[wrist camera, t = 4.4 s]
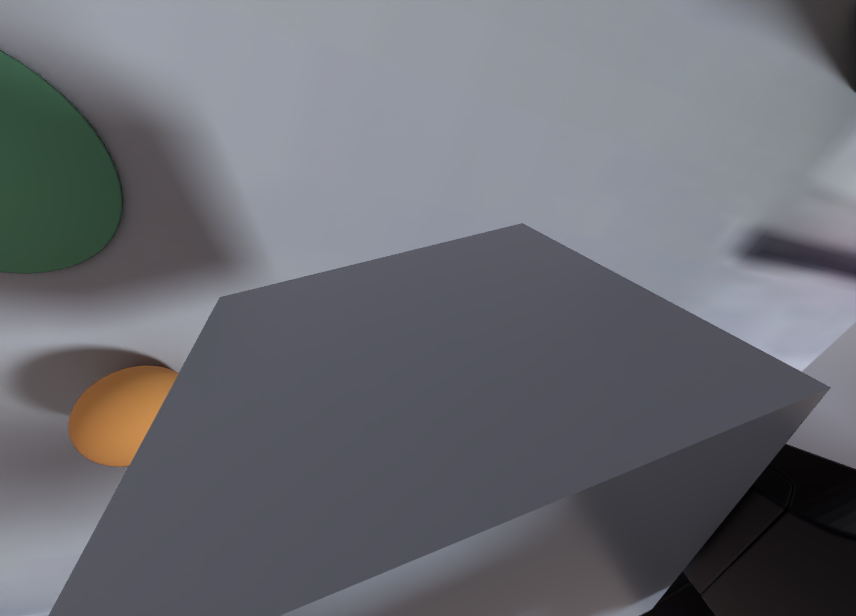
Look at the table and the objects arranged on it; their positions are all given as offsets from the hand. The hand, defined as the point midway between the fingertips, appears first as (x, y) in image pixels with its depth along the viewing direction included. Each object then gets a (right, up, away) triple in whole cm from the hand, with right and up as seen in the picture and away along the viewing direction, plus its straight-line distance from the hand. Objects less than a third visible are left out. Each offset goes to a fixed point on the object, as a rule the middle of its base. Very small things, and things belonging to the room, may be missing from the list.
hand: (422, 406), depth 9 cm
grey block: (0, +1, +1) cm, 2 cm away
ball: (-15, -3, +8) cm, 17 cm away
